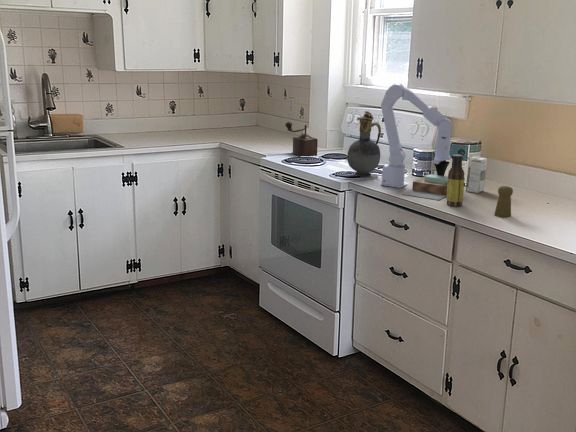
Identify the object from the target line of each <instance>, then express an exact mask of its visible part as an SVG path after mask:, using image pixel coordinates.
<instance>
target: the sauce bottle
mask: <svg viewBox="0 0 576 432" xmlns="http://www.w3.org/2000/svg"><path fill="white" fill-rule="evenodd" d="M463 157H464V156H463V154H459V153H457V154H456V153H455V154H452V155H451V158H452V159H451V167H450V169H449V170H448V174H447V177H448V185H447V196H446V204H447V206H449V207H452V208H453V207H454V208H455V207H456V208H458V207H462V205H463V202H464V201H463V200H464V189H465V171H464V169H463V160H464V159H463Z"/></svg>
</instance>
